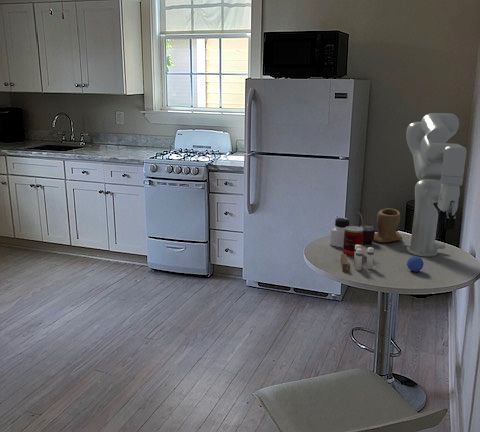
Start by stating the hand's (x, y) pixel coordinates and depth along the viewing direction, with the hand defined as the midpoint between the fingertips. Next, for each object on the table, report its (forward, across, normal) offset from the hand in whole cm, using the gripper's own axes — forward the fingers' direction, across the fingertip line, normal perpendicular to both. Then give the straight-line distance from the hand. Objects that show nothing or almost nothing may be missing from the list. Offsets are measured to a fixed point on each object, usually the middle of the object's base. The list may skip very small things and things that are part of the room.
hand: (445, 225), depth 190 cm
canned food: (+19, -17, -32) cm, 40 cm away
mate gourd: (+18, -33, -25) cm, 45 cm away
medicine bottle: (+18, -28, -36) cm, 49 cm away
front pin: (+19, 0, -26) cm, 32 cm away
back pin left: (+19, +2, -31) cm, 36 cm away
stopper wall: (+19, 0, -36) cm, 40 cm away
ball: (+16, 0, -9) cm, 18 cm away
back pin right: (+19, -2, -31) cm, 36 cm away
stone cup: (+18, -40, -14) cm, 46 cm away
